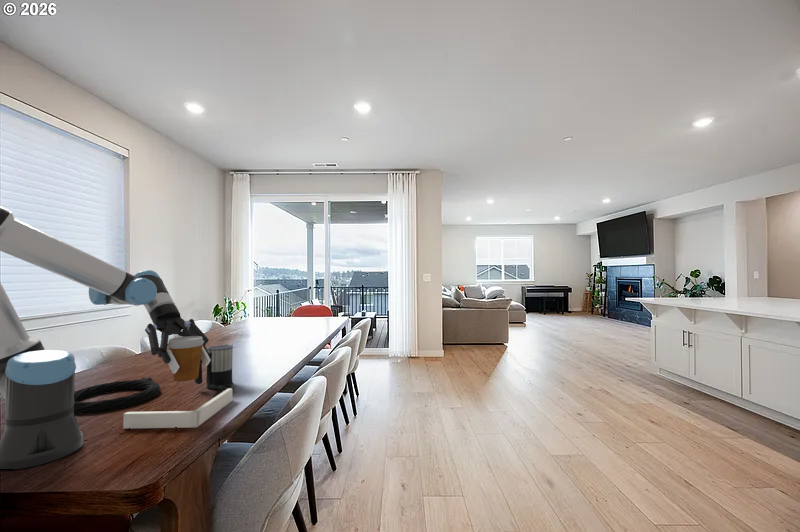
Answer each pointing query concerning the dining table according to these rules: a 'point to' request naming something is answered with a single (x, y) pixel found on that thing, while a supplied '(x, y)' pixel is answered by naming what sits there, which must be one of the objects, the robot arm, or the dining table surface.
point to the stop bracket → (177, 415)
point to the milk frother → (218, 368)
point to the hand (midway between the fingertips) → (192, 366)
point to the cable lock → (105, 405)
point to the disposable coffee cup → (186, 356)
